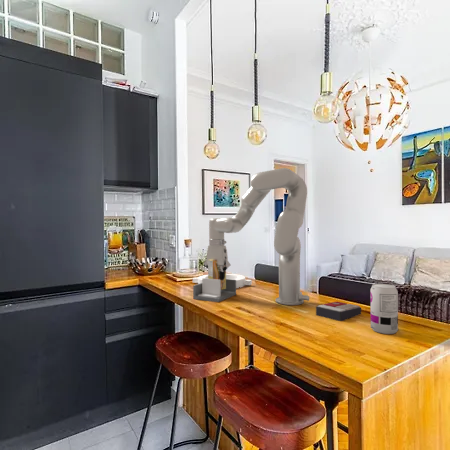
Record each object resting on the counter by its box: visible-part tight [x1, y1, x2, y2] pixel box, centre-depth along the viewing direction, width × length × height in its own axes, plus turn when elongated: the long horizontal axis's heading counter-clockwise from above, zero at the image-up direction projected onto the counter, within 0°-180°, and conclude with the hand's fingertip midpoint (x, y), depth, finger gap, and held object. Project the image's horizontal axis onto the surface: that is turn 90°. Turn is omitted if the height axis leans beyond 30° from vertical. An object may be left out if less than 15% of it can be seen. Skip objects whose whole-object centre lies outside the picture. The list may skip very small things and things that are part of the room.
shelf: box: [192, 278, 237, 303], centre depth 159 cm, size 14×18×10 cm
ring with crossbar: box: [192, 273, 253, 289], centre depth 191 cm, size 28×28×5 cm
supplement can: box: [369, 283, 399, 335], centre depth 107 cm, size 8×8×15 cm
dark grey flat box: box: [315, 301, 362, 322], centre depth 127 cm, size 11×4×15 cm
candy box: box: [207, 260, 227, 290], centre depth 161 cm, size 9×4×15 cm, turn 133°
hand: (216, 278), depth 161 cm, fingers closed on candy box, 5 cm apart
